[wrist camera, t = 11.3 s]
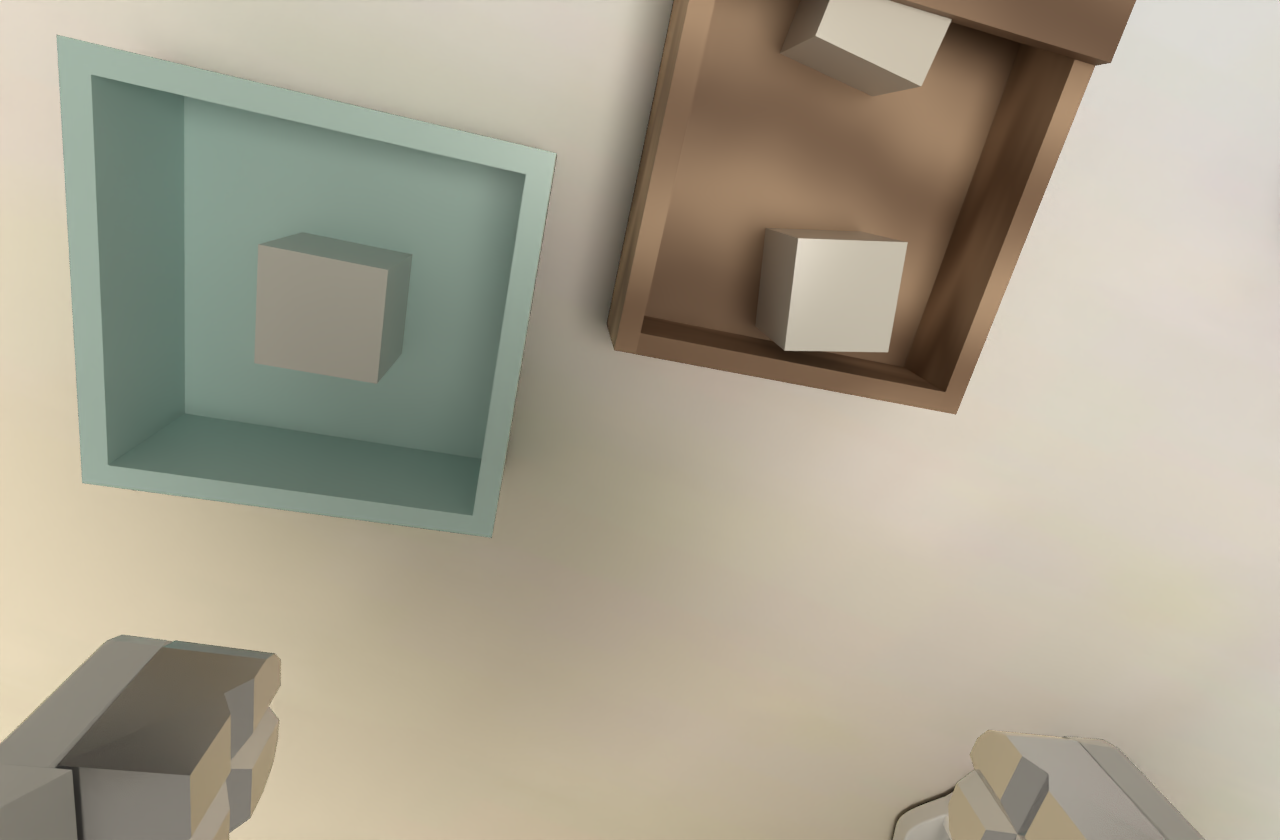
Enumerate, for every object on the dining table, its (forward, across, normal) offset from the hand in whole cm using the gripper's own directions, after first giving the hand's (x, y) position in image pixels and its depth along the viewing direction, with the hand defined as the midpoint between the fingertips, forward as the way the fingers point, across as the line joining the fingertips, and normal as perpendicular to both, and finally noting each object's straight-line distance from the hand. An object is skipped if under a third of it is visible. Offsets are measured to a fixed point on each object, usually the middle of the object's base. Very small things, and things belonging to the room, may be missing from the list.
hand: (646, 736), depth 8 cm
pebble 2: (+22, -8, -4) cm, 23 cm away
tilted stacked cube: (+21, +10, 0) cm, 23 cm away
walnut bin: (+22, -7, -8) cm, 25 cm away
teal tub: (+22, +10, 0) cm, 24 cm away
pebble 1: (+22, -7, -13) cm, 26 cm away
